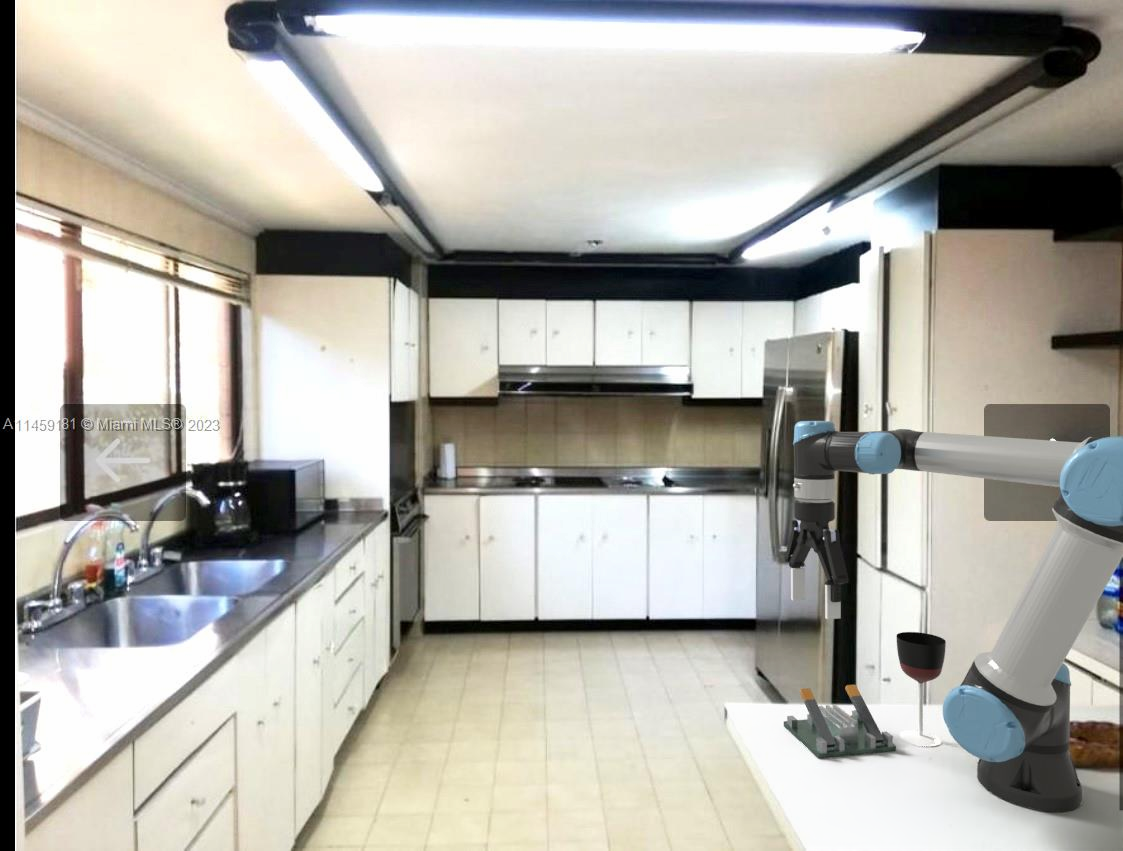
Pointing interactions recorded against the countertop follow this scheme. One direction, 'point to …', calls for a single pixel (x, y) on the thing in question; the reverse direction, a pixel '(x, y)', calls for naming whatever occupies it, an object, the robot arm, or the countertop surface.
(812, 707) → the lever
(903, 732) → the wineglass
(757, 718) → the countertop surface
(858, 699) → the lever
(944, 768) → the countertop surface
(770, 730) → the countertop surface
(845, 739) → the circuit board
